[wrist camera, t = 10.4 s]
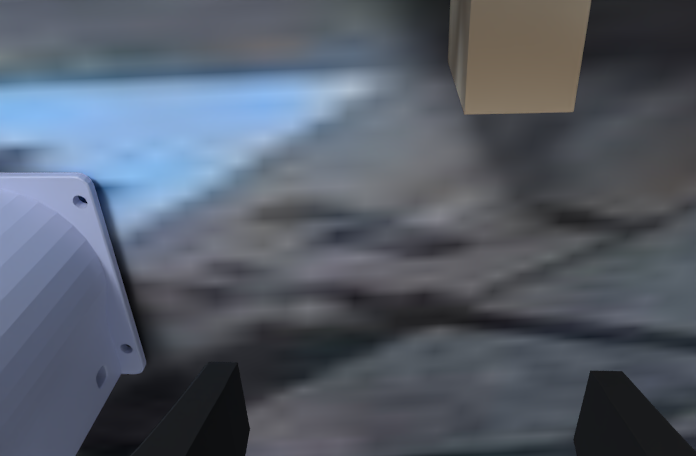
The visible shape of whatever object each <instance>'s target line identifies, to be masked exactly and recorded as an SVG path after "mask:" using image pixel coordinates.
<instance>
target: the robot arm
mask: <svg viewBox="0 0 696 456" xmlns="http://www.w3.org/2000/svg"><path fill="white" fill-rule="evenodd" d="M78 195H79V196H82V197H84V198H85V199H86V201H87V203H83V202H82V201H81V200H80V199H79V198H78ZM125 344H126V345H125ZM127 345H129V346H131V347H128V346H127ZM145 366H146V359H145V355H144V352H143V348H142V345H141V342H140V338H139V335H138V332H137V328H136V325H135V321H134V318H133V315H132V311H131V308H130V305H129V301H128V298H127V294H126V291H125V288H124V284H123V281H122V278H121V274H120V271H119V267H118V264H117V261H116V257H115V254H114V251H113V247H112V244H111V240H110V237H109V234H108V230H107V227H106V223H105V220H104V217H103V213H102V210H101V207H100V203H99V200H98V196H97V193H96V190H95V186H94V184H93V182H92V180H91V179H90V178H89V177H88V176H86V175H84V174H83V173H77V172H50V173H0V456H75V455H76V454H77V452H78V450H79V448H80V447H81V445H82V443H83V441H84V439H85V438H86V436H87V434H88V432H89V431H90V429H91V427H92V425H93V423H94V422H95V420H96V418H97V416H98V415H99V413H100V411H101V409H102V407H103V406H104V404H105V402H106V400H107V398H108V397H109V395H110V393H111V391H112V390H113V388H114V386H115V384H116V382H117V381H118V379H119V377H120V375H121V374H139V373H141V372H142V371H143V370H144V368H145ZM249 431H250V427H249V422H248V416H247V411H246V406H245V400H244V395H243V389H242V384H241V379H240V373H239V368H238V363H232V362H209V363H208V364H207V365H205V367H204V368H203V369H202V370H201V372H200V373H199V374H198V375H197V377H196V378H195V379H194V381H193V382H192V383H191V384H190V386H189V387H188V388H187V389H186V391H185V392H184V393H183V395H182V396H181V397H180V398H179V399H178V401H177V402H176V403H175V404H174V406H173V407H172V408H171V409H170V411H169V412H168V413H167V414H166V415H165V417H164V418H163V419H162V420H161V421H160V422H159V424H158V425H157V426H156V427H155V428H154V429H153V431H152V432H151V433H150V434H149V435H148V436H147V438H146V439H145V440H144V441H143V442H142V443H141V444H140V446H139V447H138V448H137V449H136V450H135V451H134V452H133V453H132V454H131V455H130V456H245V454H246V448H247V442H248V437H249ZM574 444H575V449H576V454H577V456H696V451H695V450H694V449H693V448H692V447H691V446H690V445H689V444H688V443H687V442H686V441H685V440H684V439H683V438H682V436H681V435H680V434H679V433H678V432H677V431H676V430H675V429H674V428H673V427H672V426H671V425H670V424H669V422H668V421H667V420H666V419H665V418H664V417H663V416H662V415H661V414H660V413H659V411H658V410H657V409H656V408H655V407H654V406H653V405H652V404H651V403H650V402H649V400H648V399H647V398H646V397H645V396H644V395H643V394H642V393H641V392H640V390H639V389H638V388H637V387H636V386H635V385H634V384H633V383H632V382H631V380H630V379H629V378H628V377H627V376H626V375H625V374H624V373H623V372H622V371H590V374H589V379H588V383H587V387H586V391H585V395H584V399H583V403H582V407H581V411H580V415H579V419H578V423H577V427H576V431H575V435H574Z"/></svg>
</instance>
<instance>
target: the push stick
mask: <svg viewBox="0 0 696 456" xmlns="http://www.w3.org/2000/svg"><path fill="white" fill-rule="evenodd" d="M590 6H591V0H450V23H449V47H448V64H449V67H450V70H451V73H452V76H453V80H454V83H455V86H456V89H457V92H458V96H459V99H460V102H461V105H462V108H463V112H464V115H466V114H512V113H558V112H574V106H575V99H576V93H577V87H578V81H579V74H580V68H581V62H582V56H583V49H584V43H585V37H586V31H587V25H588V18H589V12H590Z"/></svg>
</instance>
